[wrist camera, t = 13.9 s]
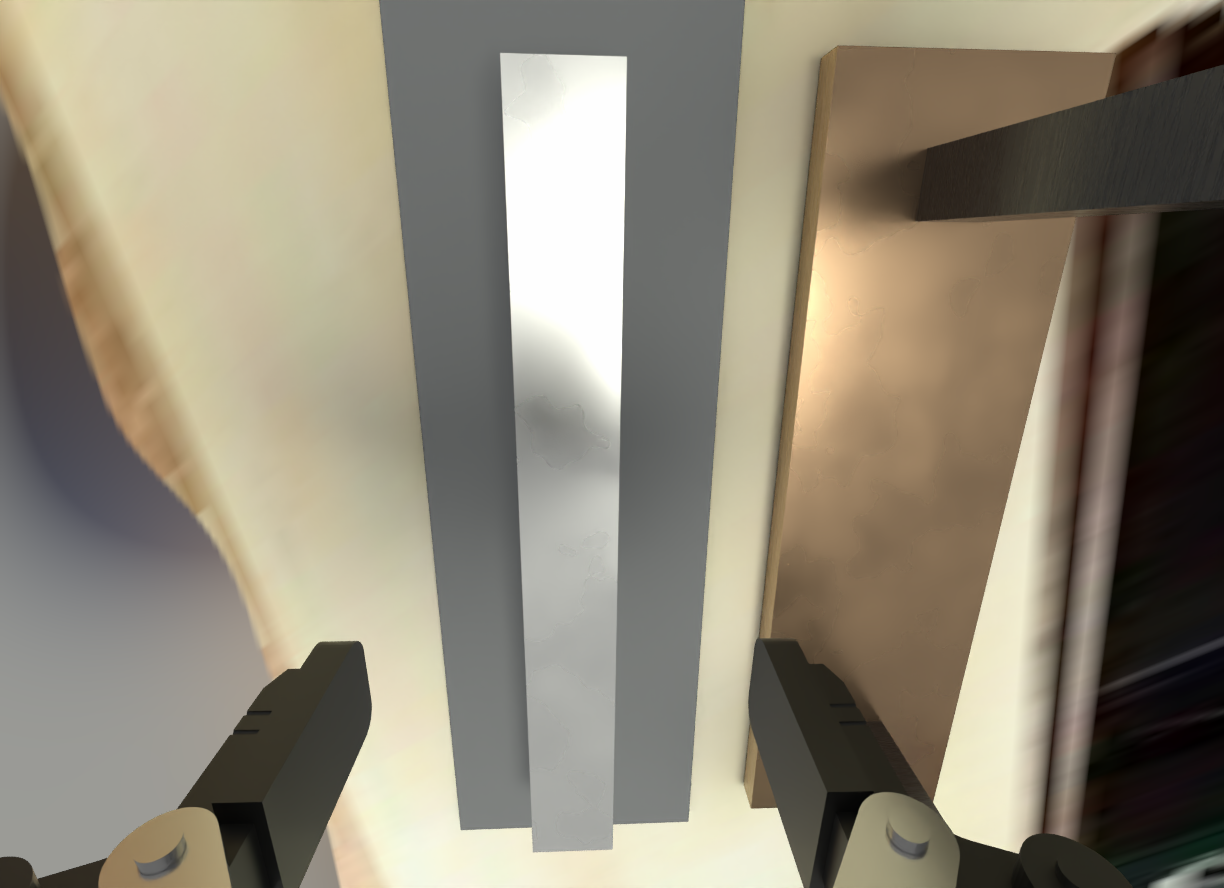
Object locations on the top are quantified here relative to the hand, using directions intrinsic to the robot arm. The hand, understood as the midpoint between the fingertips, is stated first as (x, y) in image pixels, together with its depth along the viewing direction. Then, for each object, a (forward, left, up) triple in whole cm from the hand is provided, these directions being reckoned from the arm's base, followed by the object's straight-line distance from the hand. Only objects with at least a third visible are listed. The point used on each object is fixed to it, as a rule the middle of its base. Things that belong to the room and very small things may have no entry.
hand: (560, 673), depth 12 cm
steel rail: (0, 0, -9) cm, 9 cm away
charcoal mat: (0, 0, -10) cm, 10 cm away
